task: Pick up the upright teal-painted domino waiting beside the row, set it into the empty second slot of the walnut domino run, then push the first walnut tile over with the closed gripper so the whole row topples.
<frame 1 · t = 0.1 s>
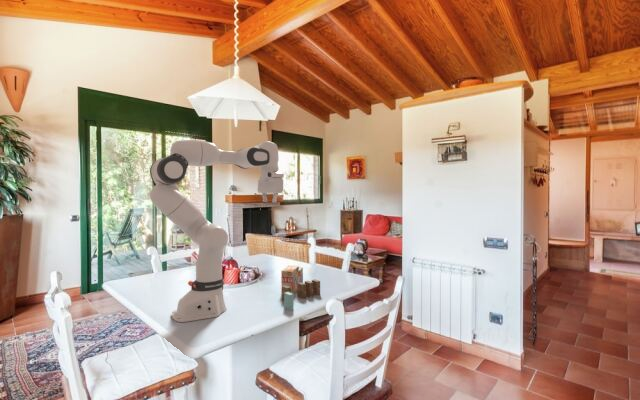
hand: (269, 202, 163), 48 cm above the table, fingers open, 8 cm apart
domino c: (301, 297, 164), on the table
teal domino: (288, 308, 148), on the table
domino e: (315, 293, 169), on the table
domino a: (286, 301, 158), on the table
printed cardboard box: (292, 288, 180), on the table
domino d: (308, 295, 166), on the table
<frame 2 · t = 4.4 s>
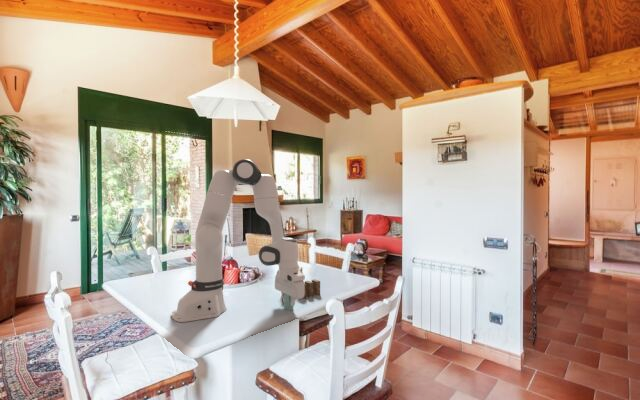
hand: (288, 303, 148), 2 cm above the table, fingers closed on teal domino, 4 cm apart
teal domino: (288, 308, 148), on the table, touching gripper
when the fingers open (3 cm above the table, at t = 9.9 s): teal domino stays where it is, on the table.
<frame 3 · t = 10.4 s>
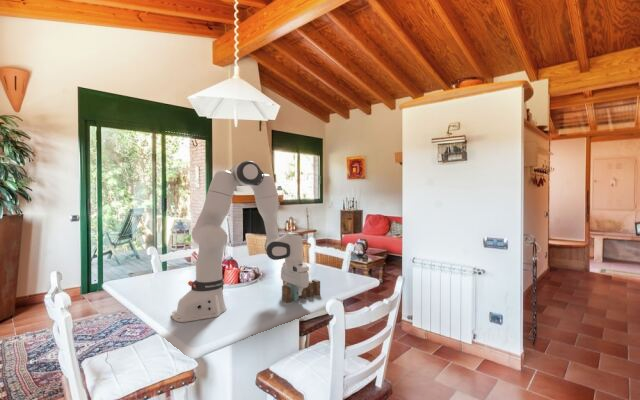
hand: (294, 292, 161), 3 cm above the table, fingers open, 8 cm apart
teal domino: (294, 299, 161), on the table
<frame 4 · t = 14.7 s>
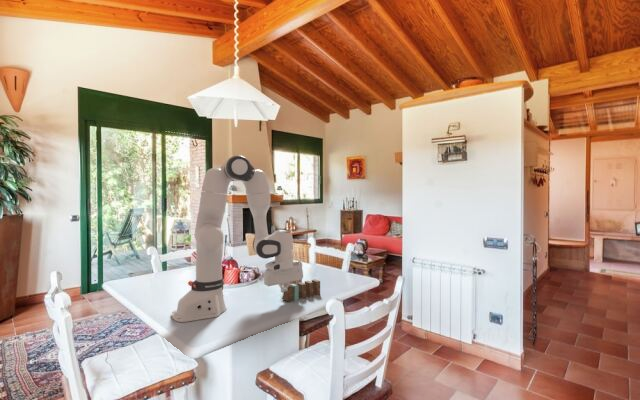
hand: (284, 291, 157), 5 cm above the table, fingers closed
domino a: (286, 300, 158), on the table, tilted 19°
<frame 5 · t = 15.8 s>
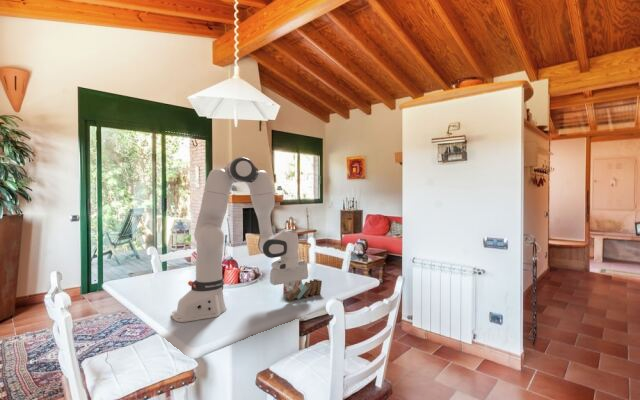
hand: (289, 290, 159), 5 cm above the table, fingers closed
domino c: (302, 295, 164), point 1 cm above the table, tilted 41°, touching domino d, teal domino
teal domino: (295, 297, 162), point 1 cm above the table, tilted 49°, touching domino a, domino c
domino e: (315, 293, 169), on the table, tilted 9°
domino a: (287, 298, 159), point 1 cm above the table, tilted 55°, touching teal domino
domino d: (309, 294, 167), on the table, tilted 28°, touching domino c
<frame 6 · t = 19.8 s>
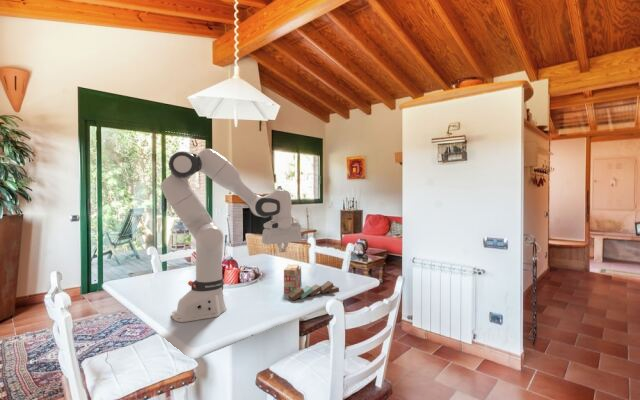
hand: (282, 252, 156), 24 cm above the table, fingers closed
domino c: (308, 293, 166), point 1 cm above the table, tilted 72°, touching domino d, teal domino
teal domino: (299, 296, 163), point 1 cm above the table, tilted 67°, touching domino a, domino c
domino e: (326, 290, 172), point 1 cm above the table, tilted 90°
domino a: (290, 298, 160), point 1 cm above the table, tilted 64°, touching teal domino
domino d: (320, 291, 170), point 1 cm above the table, tilted 63°, touching domino c
at the end: domino e tilted 90°; teal domino tilted 67°; teal domino inside the target area (0.9 cm from its centre), point 1.0 cm above the table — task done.
